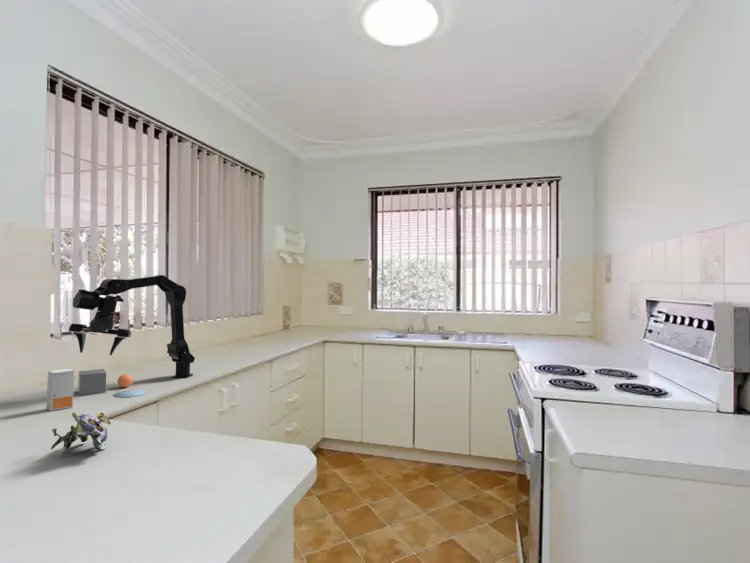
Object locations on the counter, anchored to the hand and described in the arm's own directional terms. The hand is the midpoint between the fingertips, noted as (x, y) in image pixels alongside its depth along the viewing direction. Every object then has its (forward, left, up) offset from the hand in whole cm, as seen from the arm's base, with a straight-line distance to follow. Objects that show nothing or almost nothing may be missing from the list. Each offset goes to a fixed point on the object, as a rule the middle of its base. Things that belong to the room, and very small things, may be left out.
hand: (96, 354), depth 149 cm
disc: (+1, +14, -14) cm, 20 cm away
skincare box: (+20, +3, -14) cm, 24 cm away
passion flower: (+53, +34, -14) cm, 64 cm away
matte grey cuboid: (0, -1, -14) cm, 14 cm away
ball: (-8, +6, -11) cm, 15 cm away
